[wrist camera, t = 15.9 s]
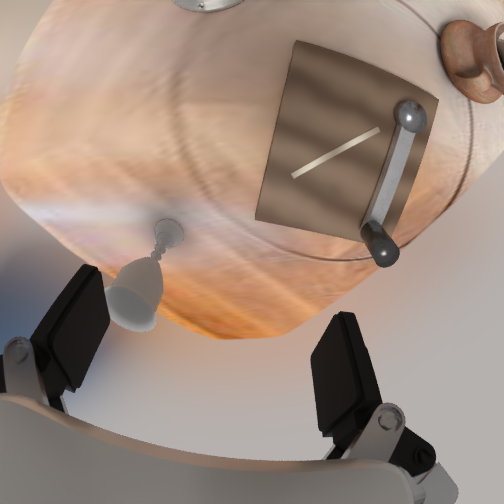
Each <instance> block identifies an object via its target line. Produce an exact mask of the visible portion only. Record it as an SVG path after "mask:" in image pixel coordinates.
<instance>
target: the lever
mask: <svg viewBox="0 0 504 504" xmlns="http://www.w3.org/2000/svg"><path fill="white" fill-rule="evenodd" d="M394 118H395V121H396V123H397V126H396V130H395V133H394V136H393V140H392V143H391V146H390V149H389V152H388V155H387V158H386V161H385V164H384V167H383V170H382V173H381V176H380V178H379V181H378V184H377V187H376V189H375V192H374V195H373V197H372V200H371V203H370V205H369V208H368V210H367V213H366V215H365V218H364V220H363V223H362V225H361V228H360V230H359V232H360V236H361V238H362V240H363V242H364V243H365V245H366V247H367V248H368V250H369V252H370V253H371V255H372V257H373V259H374V260H375V262H376V264H377V265H378V266H380V267H383V268H385V267H389V266H391V265H393V264H394V263H395V262H396V261H397V260H398V258H399V255H400V251H399V248H398V247H397V245H396V244H395V243H394V241H393V240H392V239H391V237H390V236H389V235H388V233H387V232H386V231H385V229H384V228H383V227H382V226H381V225H382V223H383V221H384V218H385V216H386V214H387V211H388V209H389V206H390V204H391V201H392V199H393V196H394V194H395V191H396V189H397V186H398V183H399V181H400V178H401V175H402V172H403V170H404V167H405V164H406V161H407V158H408V155H409V152H410V149H411V146H412V143H413V140H414V136H415V133H419V132H421V131H422V130H423V129H424V128H425V126H426V124H427V114H426V111H425V109H424V108H423V107H422V106H421V105H420V104H419V103H417V102H413V101H401V102H399V103H398V104H397V106H396V107H395V110H394Z"/></svg>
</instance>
